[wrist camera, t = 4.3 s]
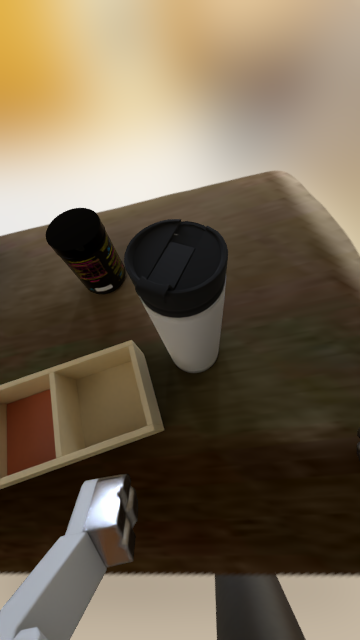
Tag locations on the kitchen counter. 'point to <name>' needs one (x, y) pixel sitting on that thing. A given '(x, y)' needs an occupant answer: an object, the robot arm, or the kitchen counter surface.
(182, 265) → the travel mug
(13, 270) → the kitchen counter surface
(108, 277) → the supplement container
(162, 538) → the kitchen counter surface
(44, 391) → the organiser
